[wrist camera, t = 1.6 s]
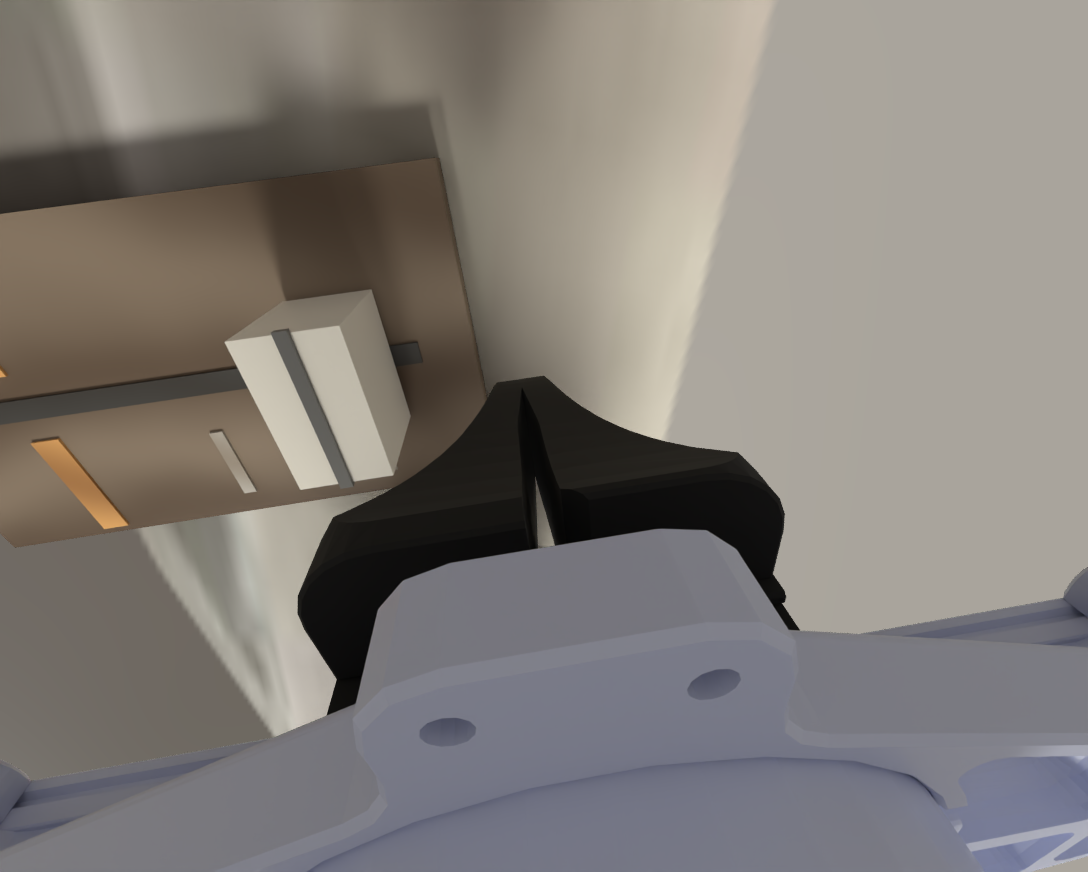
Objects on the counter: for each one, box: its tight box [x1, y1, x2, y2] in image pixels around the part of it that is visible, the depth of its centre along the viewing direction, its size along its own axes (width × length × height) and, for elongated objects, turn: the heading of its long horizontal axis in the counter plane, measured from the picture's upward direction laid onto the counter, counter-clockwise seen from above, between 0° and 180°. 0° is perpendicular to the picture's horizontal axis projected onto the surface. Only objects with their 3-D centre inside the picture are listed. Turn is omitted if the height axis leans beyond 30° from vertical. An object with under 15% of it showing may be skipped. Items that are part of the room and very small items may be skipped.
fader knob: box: [225, 289, 411, 490], centre depth 15 cm, size 5×3×4 cm, turn 6°
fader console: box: [0, 158, 487, 548], centre depth 17 cm, size 12×21×2 cm, turn 96°
